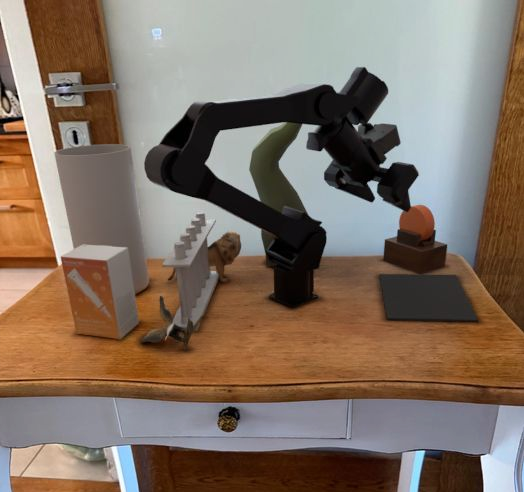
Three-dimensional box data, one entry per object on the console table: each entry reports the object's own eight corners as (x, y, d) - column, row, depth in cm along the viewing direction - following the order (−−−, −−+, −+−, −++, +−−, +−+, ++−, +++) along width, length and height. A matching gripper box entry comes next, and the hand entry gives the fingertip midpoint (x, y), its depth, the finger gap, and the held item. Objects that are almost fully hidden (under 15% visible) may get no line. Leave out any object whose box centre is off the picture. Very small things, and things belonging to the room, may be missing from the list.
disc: (424, 246, 106) (427, 209, 103) (398, 239, 111) (399, 204, 108) (433, 243, 107) (436, 207, 104) (406, 237, 112) (408, 202, 109)
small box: (75, 334, 88) (58, 256, 81) (97, 318, 93) (83, 243, 87) (120, 340, 85) (106, 259, 79) (140, 323, 91) (128, 246, 84)
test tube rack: (197, 331, 87) (188, 250, 81) (169, 331, 88) (159, 250, 81) (220, 274, 109) (215, 207, 103) (198, 274, 109) (192, 208, 103)
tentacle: (307, 271, 109) (307, 106, 95) (247, 268, 112) (239, 107, 98) (315, 256, 117) (316, 102, 103) (259, 254, 120) (253, 103, 106)
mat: (478, 322, 86) (478, 319, 86) (386, 320, 88) (386, 317, 88) (455, 276, 104) (455, 274, 104) (379, 275, 106) (379, 273, 105)
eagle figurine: (211, 329, 85) (167, 307, 89) (197, 304, 79) (150, 282, 82) (183, 368, 83) (139, 345, 86) (166, 346, 76) (119, 322, 80)
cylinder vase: (151, 295, 101) (131, 152, 89) (81, 304, 98) (50, 157, 87) (148, 273, 112) (129, 142, 100) (84, 280, 109) (57, 147, 98)
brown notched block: (419, 274, 106) (423, 238, 103) (383, 260, 113) (385, 227, 110) (444, 266, 109) (449, 232, 106) (407, 253, 117) (410, 221, 113)
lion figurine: (241, 271, 111) (238, 227, 106) (245, 280, 106) (242, 234, 102) (167, 278, 109) (161, 233, 104) (168, 288, 104) (162, 241, 100)
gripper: (416, 110, 84) (456, 176, 94) (338, 104, 98) (380, 162, 108) (373, 170, 84) (418, 229, 94) (302, 155, 98) (347, 209, 108)
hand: (390, 204), depth 101 cm, fingers open, 9 cm apart
